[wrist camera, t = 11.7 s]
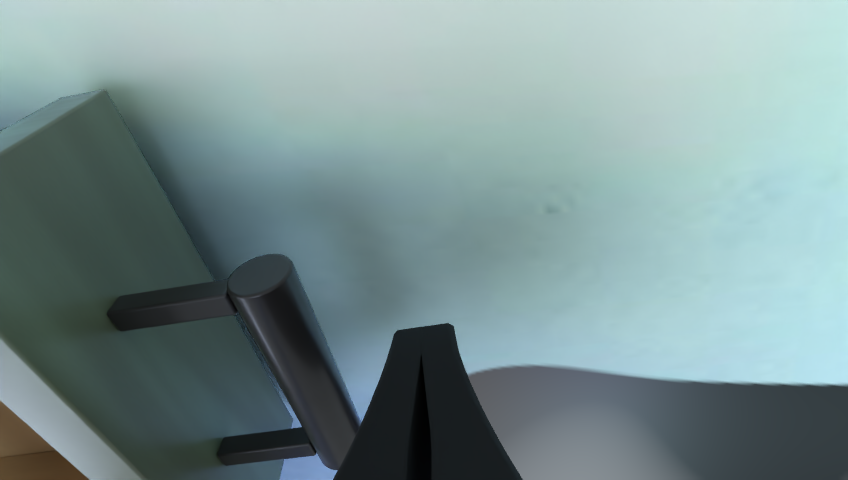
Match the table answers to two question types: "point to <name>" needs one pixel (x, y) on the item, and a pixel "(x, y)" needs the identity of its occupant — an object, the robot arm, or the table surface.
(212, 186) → the table surface
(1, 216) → the drawer
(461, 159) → the table surface
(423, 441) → the robot arm
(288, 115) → the table surface
